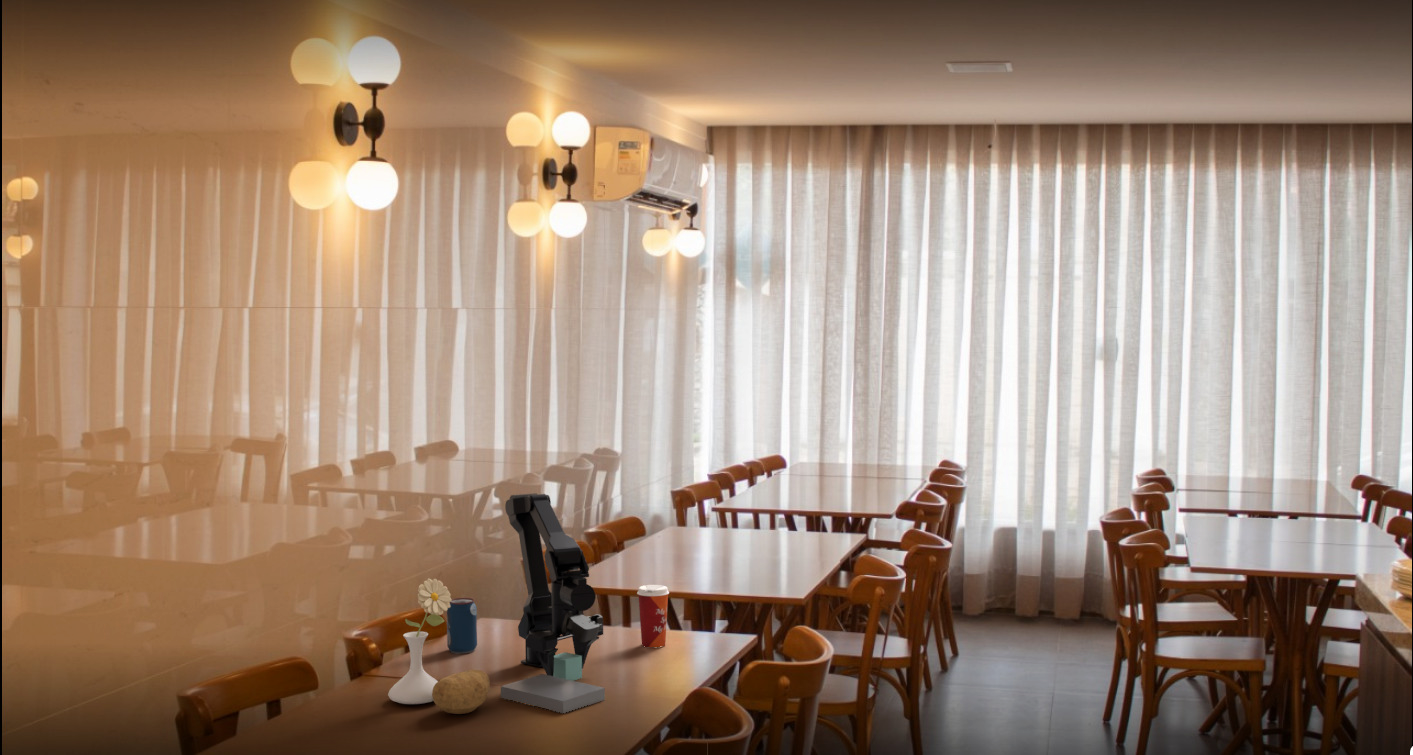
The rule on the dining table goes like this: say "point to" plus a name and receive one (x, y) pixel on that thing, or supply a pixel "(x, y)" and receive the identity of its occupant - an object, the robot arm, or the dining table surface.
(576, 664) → the teal cube
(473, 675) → the potato
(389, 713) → the dining table surface
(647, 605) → the paper cup
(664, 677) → the dining table surface
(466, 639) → the soda can
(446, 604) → the flower in vase
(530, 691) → the slate board
